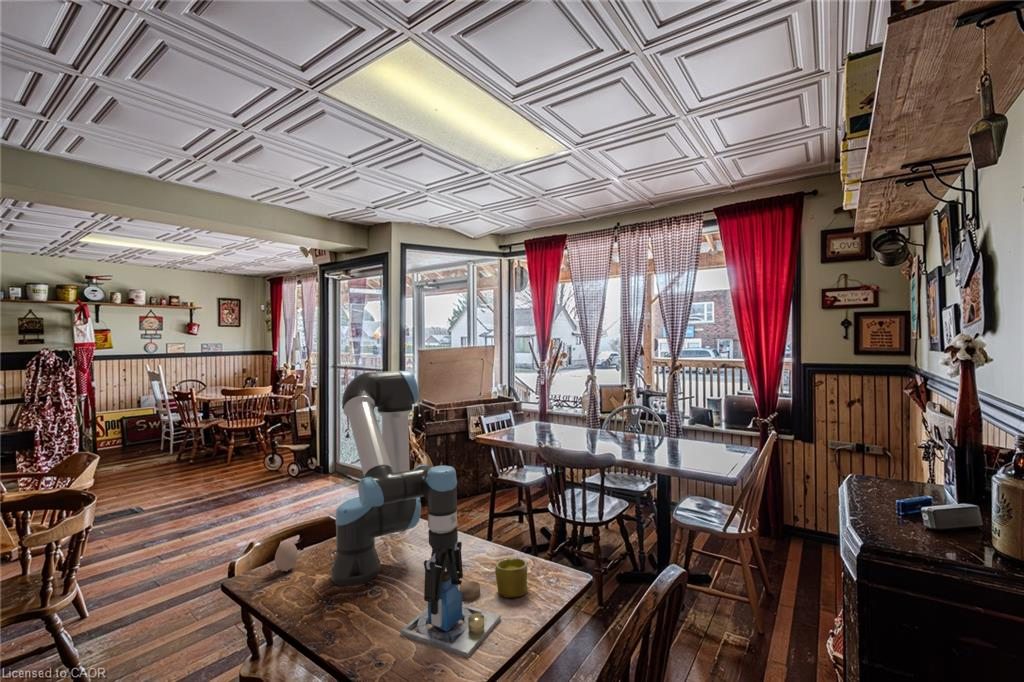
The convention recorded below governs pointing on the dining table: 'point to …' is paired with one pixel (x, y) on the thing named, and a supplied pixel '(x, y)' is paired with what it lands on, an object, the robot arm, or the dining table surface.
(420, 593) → the dining table surface
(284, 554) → the egg
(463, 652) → the plate
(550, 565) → the dining table surface
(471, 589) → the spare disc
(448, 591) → the perfume bottle
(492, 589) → the dining table surface
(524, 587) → the mug
